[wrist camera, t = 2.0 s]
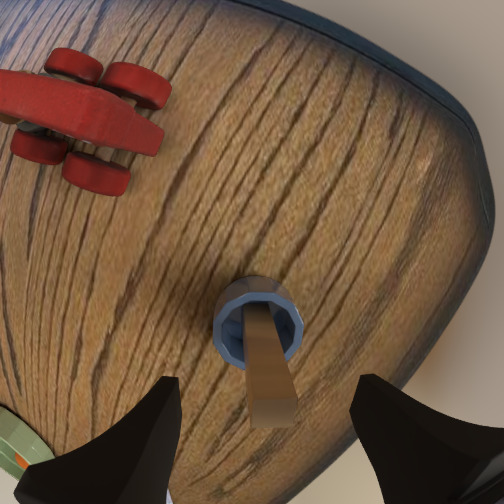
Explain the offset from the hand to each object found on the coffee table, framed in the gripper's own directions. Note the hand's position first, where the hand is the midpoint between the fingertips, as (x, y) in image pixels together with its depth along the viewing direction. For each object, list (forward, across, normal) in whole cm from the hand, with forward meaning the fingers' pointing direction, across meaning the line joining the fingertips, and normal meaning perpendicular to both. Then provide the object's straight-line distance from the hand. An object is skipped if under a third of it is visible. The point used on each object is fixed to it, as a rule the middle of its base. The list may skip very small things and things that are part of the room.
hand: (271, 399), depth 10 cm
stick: (+8, 0, 0) cm, 8 cm away
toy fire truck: (+9, +11, -12) cm, 19 cm away
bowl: (+8, +28, +21) cm, 36 cm away
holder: (+9, 0, 0) cm, 9 cm away
